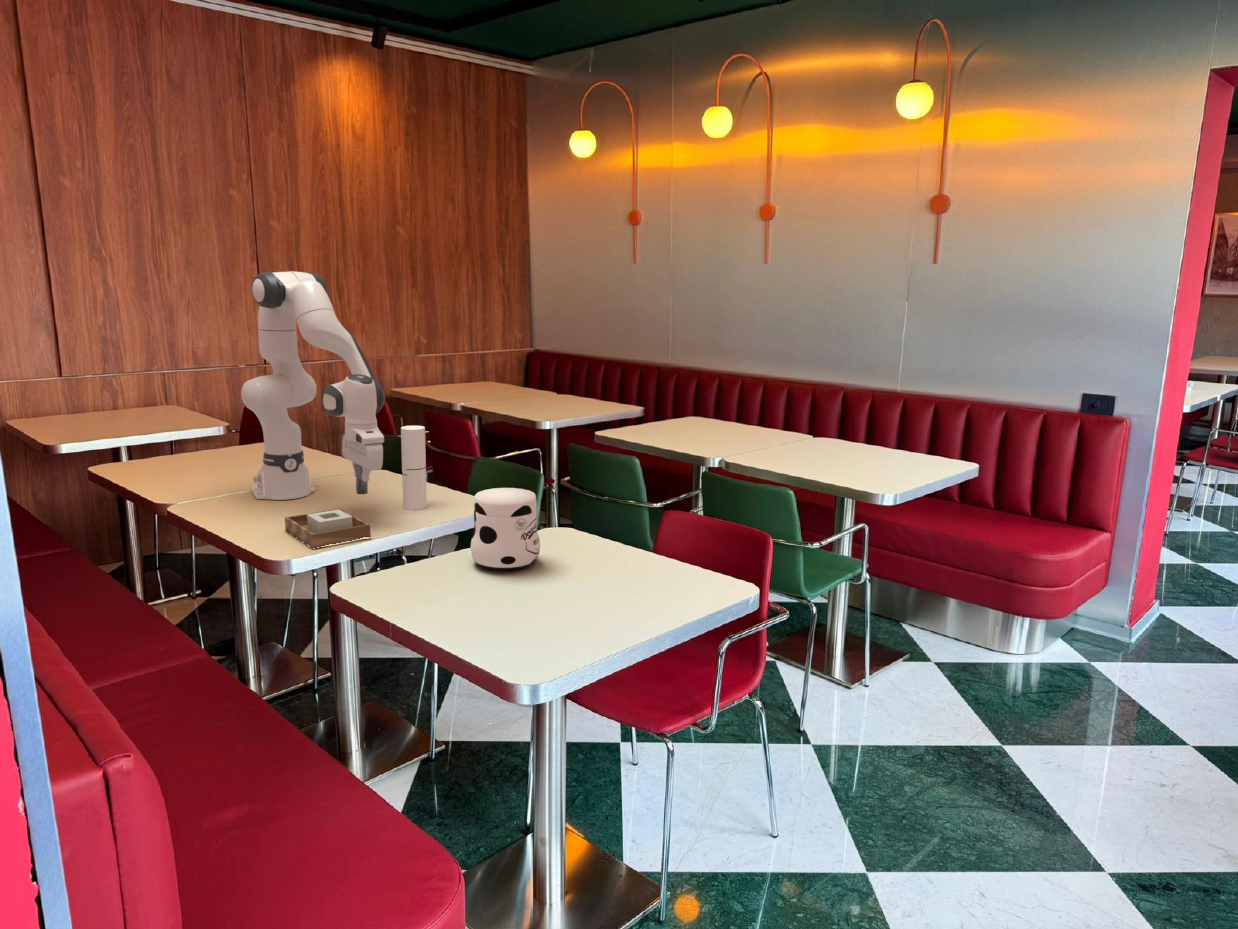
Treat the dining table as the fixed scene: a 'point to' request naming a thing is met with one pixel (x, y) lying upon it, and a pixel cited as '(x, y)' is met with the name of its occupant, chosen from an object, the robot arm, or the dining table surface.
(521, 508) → the milk container
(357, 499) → the dining table surface
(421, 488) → the cylindrical container
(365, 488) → the peg
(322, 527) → the plate
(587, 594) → the dining table surface
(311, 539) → the box
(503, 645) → the dining table surface
